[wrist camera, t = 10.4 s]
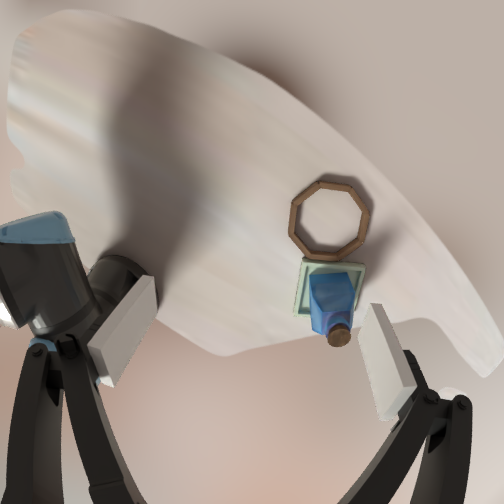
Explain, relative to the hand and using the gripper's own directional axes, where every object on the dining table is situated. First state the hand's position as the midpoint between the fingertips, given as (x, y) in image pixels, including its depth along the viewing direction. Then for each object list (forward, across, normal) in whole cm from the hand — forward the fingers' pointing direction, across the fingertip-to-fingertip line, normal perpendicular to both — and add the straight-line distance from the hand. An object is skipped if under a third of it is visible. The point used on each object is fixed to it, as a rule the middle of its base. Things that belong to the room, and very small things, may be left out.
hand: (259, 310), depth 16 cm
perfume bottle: (+26, +11, -13) cm, 31 cm away
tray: (+26, +11, -13) cm, 32 cm away
